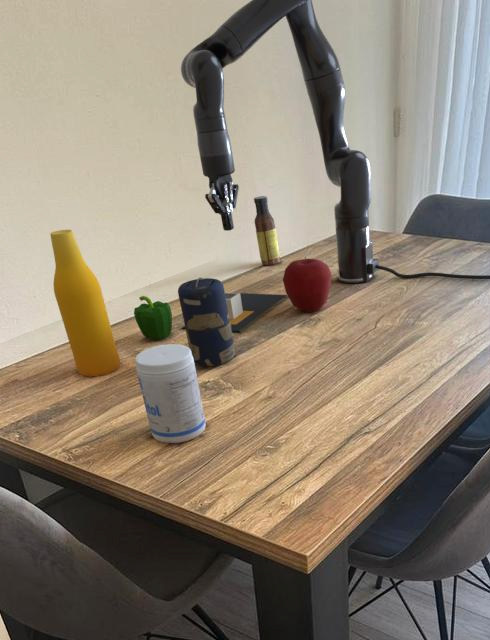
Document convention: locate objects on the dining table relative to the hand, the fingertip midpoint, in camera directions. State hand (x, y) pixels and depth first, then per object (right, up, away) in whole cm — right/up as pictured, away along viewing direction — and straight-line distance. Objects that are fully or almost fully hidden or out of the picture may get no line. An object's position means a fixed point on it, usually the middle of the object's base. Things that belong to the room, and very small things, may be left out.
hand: (228, 229), depth 165 cm
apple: (+20, -19, +5) cm, 28 cm away
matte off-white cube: (-1, -16, +2) cm, 16 cm away
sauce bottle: (+6, +8, +49) cm, 49 cm away
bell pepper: (-17, -27, -3) cm, 32 cm away
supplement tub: (-1, -54, -47) cm, 71 cm away
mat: (+1, -18, +9) cm, 20 cm away
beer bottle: (-26, -38, -18) cm, 49 cm away
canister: (0, -36, -19) cm, 41 cm away
